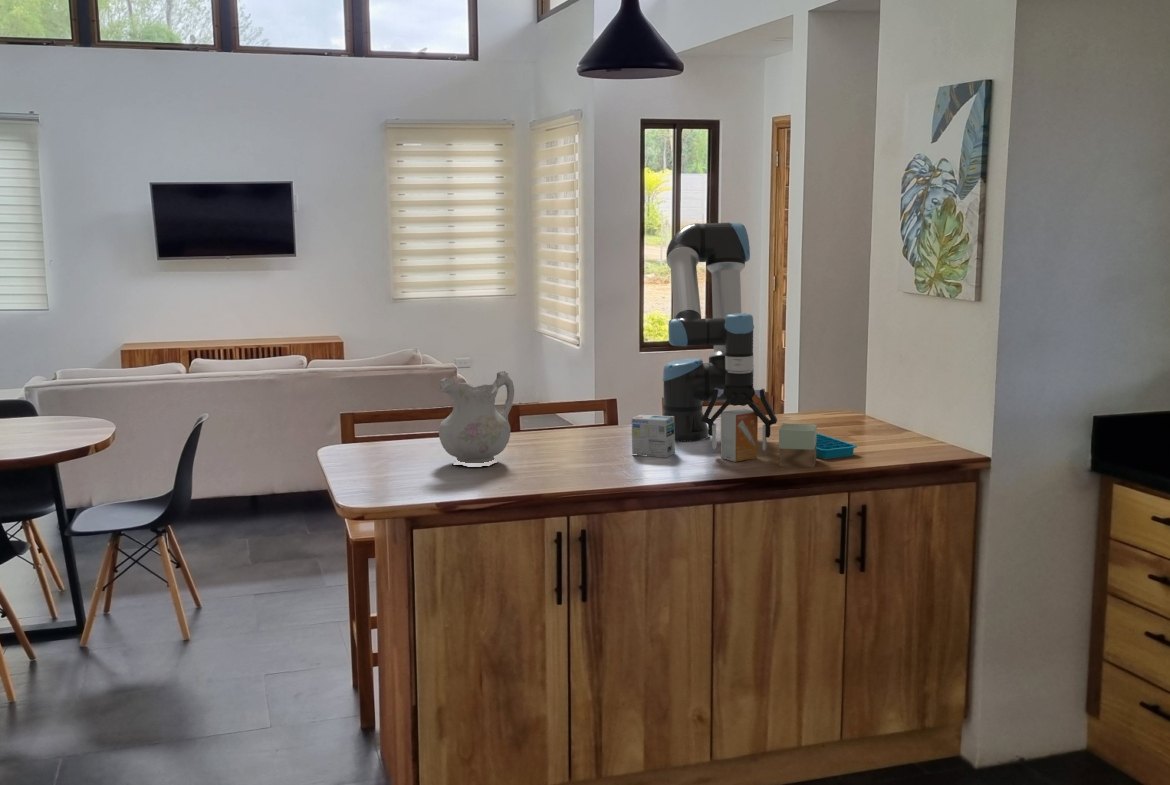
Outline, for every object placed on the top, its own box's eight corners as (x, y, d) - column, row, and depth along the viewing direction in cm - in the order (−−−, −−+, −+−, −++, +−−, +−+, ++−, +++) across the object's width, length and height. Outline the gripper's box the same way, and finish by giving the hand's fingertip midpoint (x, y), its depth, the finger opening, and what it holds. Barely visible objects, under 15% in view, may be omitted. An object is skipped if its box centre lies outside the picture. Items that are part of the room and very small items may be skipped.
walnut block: (779, 467, 285) (779, 448, 284) (782, 459, 294) (782, 441, 293) (814, 468, 283) (814, 449, 282) (816, 460, 291) (816, 442, 291)
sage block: (778, 448, 284) (779, 429, 284) (782, 441, 293) (782, 423, 292) (813, 449, 282) (813, 430, 281) (816, 442, 290) (816, 424, 289)
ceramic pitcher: (489, 455, 311) (481, 369, 308) (534, 459, 297) (526, 369, 294) (428, 469, 296) (419, 379, 293) (472, 474, 282) (463, 380, 279)
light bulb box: (675, 453, 303) (675, 415, 301) (667, 458, 297) (666, 420, 295) (640, 450, 308) (639, 413, 306) (631, 455, 302) (630, 417, 300)
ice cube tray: (822, 461, 291) (823, 450, 290) (783, 447, 309) (783, 437, 309) (859, 457, 295) (859, 446, 295) (817, 443, 314) (817, 433, 313)
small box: (735, 462, 290) (735, 414, 288) (720, 458, 296) (720, 411, 294) (758, 458, 295) (758, 411, 293) (742, 454, 300) (742, 408, 298)
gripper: (691, 372, 291) (691, 449, 294) (784, 373, 285) (784, 452, 288) (695, 368, 298) (696, 443, 302) (787, 369, 292) (786, 446, 295)
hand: (739, 448), depth 295 cm, fingers open, 13 cm apart
